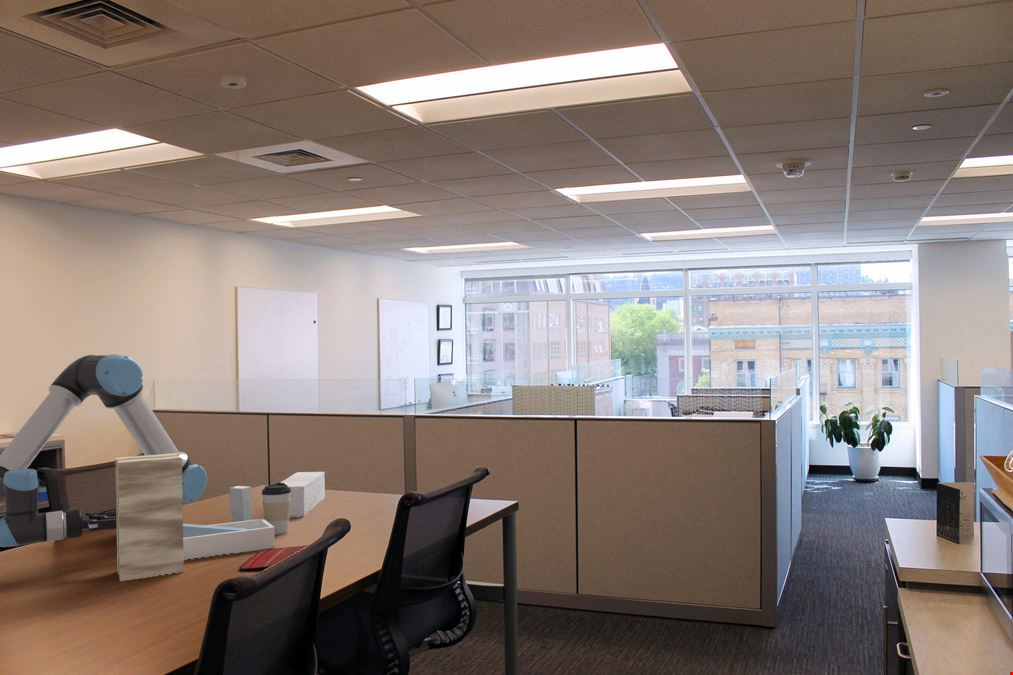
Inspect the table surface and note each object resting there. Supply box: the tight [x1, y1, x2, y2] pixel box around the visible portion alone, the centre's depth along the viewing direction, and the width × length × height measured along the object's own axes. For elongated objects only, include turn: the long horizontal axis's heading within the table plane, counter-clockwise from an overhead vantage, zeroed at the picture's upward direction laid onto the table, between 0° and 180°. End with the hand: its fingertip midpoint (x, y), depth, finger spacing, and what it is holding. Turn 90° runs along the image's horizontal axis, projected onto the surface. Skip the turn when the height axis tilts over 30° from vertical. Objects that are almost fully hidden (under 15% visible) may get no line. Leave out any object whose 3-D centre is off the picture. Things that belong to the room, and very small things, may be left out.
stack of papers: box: [279, 471, 326, 516], centre depth 292 cm, size 32×11×11 cm, turn 0°
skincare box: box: [229, 485, 254, 523], centre depth 268 cm, size 6×4×12 cm
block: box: [183, 523, 248, 538], centre depth 231 cm, size 4×26×4 cm, turn 119°
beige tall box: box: [115, 453, 185, 582], centre depth 211 cm, size 11×15×30 cm
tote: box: [183, 518, 276, 561], centre depth 232 cm, size 14×33×6 cm, turn 119°
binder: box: [238, 544, 309, 572], centre depth 220 cm, size 16×2×21 cm
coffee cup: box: [261, 482, 291, 535], centre depth 254 cm, size 9×9×15 cm
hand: (154, 513), depth 225 cm, fingers open, 11 cm apart
